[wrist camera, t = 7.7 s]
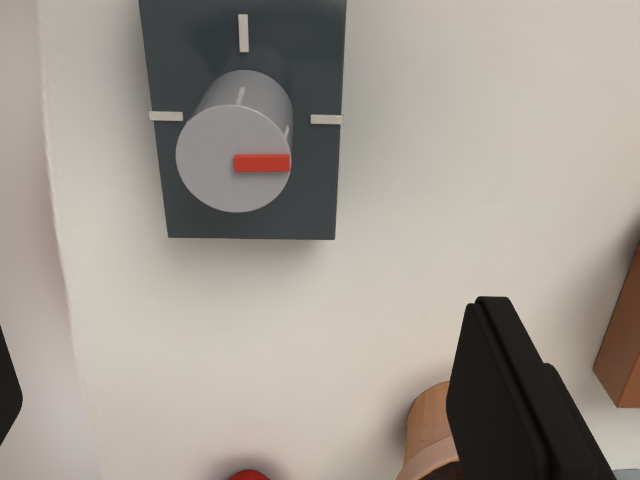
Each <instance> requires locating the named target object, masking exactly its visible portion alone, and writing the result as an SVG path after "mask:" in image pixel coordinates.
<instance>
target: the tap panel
mask: <svg viewBox="0 0 640 480" xmlns="http://www.w3.org/2000/svg"><path fill="white" fill-rule="evenodd" d="M346 2H347V0H139V8H140V16H141V24H142V32H143V40H144V48H145V56H146V64H147V72H148V80H149V88H150V96H151V104H152V111H149V119H150V120H154V128H155V136H156V144H157V152H158V160H159V168H160V176H161V184H162V192H163V200H164V208H165V216H166V224H167V232H168V237H169V238H232V239H301V240H335V231H336V210H337V189H338V168H339V148H340V127H341V124H343V120H344V116H343V115H341V106H342V85H343V65H344V44H345V23H346ZM236 70H251V71H256V72H260V73H263V74H265V75H267V76H269V77H270V78H272V79H273V80H275V81H276V82H277V83H278V84H279V85H280V86H281V87H282V88H283V89H284V90H285V92H286V93H287V95H288V97H289V99H290V101H291V104H292V107H293V111H294V130H293V145H292V161H291V171H290V175H289V178H288V181H287V183H286V185H285V187H284V189H283V190H282V192H281V193H280V194H279V195H278V196H277V197H276V198H275V199H274V200H273V201H272V202H270V203H269V204H267V205H265V206H263V207H261V208H259V209H256V210H253V211H248V212H240V213H235V212H226V211H221V210H218V209H215V208H213V207H210V206H208V205H207V204H205V203H203V202H202V201H200V200H199V199H197V198H196V197H195V196H194V195H193V194H192V193H191V192H190V191H189V190H188V188H187V187H186V185H185V184H184V183H183V181H182V179H181V177H180V174H179V172H178V169H177V164H176V145H177V141H178V138H179V135H180V133H181V131H182V130H183V128H184V126H185V124H186V123H187V121H188V119H189V118H190V116H191V114H192V113H193V111H194V109H195V108H196V106H197V104H198V103H199V101H200V99H201V98H202V96H203V94H204V93H205V91H206V89H207V88H208V87H209V85H210V84H211V83H212V82H213V81H214V80H216V79H217V78H218V77H220V76H222V75H224V74H226V73H229V72H232V71H236Z"/></svg>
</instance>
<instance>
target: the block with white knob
mask: <svg viewBox="0 0 640 480" xmlns="http://www.w3.org/2000/svg"><path fill="white" fill-rule="evenodd" d="M593 371H594V373H595V375H596V376H597V378H598V379H599V381H600V382H601V384H602V386H603V387H604V389H605V390H606V392H607V393H608V395H609V397H610V398H611V400H612V401H613V403H614V404H615V406H616V407H617V408H640V242H639V245H638V248H637V250H636V253H635V256H634V259H633V261H632V264H631V267H630V270H629V272H628V275H627V278H626V281H625V283H624V286H623V289H622V292H621V294H620V297H619V300H618V302H617V305H616V308H615V311H614V313H613V316H612V319H611V322H610V324H609V327H608V330H607V333H606V335H605V338H604V341H603V344H602V346H601V349H600V352H599V354H598V357H597V360H596V363H595V365H594V368H593Z"/></svg>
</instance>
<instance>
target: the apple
mask: <svg viewBox="0 0 640 480" xmlns="http://www.w3.org/2000/svg"><path fill="white" fill-rule="evenodd" d="M229 480H269V479H268V478H267V477H266V476H264V475H263V474H261V473H260V472H258V471H255V470H243V471H240V472H238V473H237V474H235V475H234V476H233V477H231V478H230V479H229Z"/></svg>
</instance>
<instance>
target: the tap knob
mask: <svg viewBox="0 0 640 480" xmlns="http://www.w3.org/2000/svg"><path fill="white" fill-rule="evenodd" d="M293 130H294V111H293V107H292V104H291V101H290V99H289V97H288V95H287V93H286V92H285V90H284V89H283V88H282V87H281V86H280V85H279V84H278V83H277V82H276V81H275V80H273V79H272V78H270V77H269V76H267V75H265V74H263V73H260V72H256V71H251V70H236V71H232V72H229V73H226V74H224V75H222V76H220V77H218V78H217V79H216V80H214V81H213V82H212V83H211V84H210V85H209V87H208V88H207V89H206V91H205V93H204V94H203V96H202V98H201V99H200V101H199V103H198V104H197V106H196V108H195V109H194V111H193V113H192V114H191V116H190V118H189V119H188V121H187V123H186V124H185V126H184V128H183V130H182V131H181V133H180V135H179V138H178V141H177V145H176V164H177V169H178V172H179V174H180V177H181V179H182V181H183V183H184V184H185V185H186V187H187V188H188V190H189V191H190V192H191V193H192V194H193V195H194V196H195V197H196V198H197V199H199V200H200V201H202V202H203V203H205V204H207V205H208V206H210V207H213V208H215V209H218V210H221V211H226V212H235V213H240V212H248V211H253V210H256V209H259V208H261V207H263V206H265V205H267V204H269V203H270V202H272V201H273V200H274V199H275V198H276V197H277V196H278V195H279V194H280V193H281V192H282V190H283V189H284V187H285V185H286V183H287V181H288V178H289V175H290V171H291V161H292V145H293Z"/></svg>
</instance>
